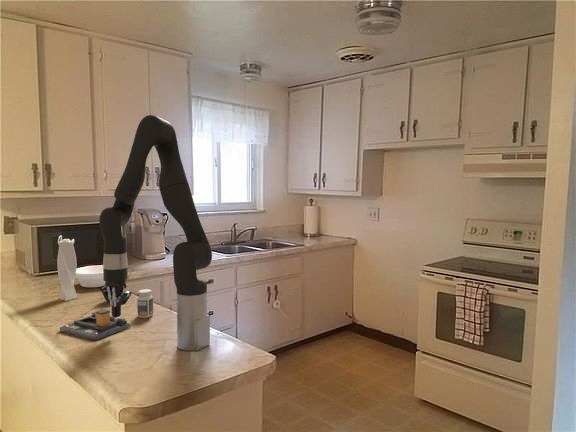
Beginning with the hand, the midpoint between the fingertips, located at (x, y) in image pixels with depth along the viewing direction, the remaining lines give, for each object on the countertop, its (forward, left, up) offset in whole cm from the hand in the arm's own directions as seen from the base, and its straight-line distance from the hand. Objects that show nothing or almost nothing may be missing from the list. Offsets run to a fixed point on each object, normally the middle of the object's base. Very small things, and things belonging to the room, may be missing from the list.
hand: (116, 316), depth 136 cm
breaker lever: (+6, 0, -5) cm, 8 cm away
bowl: (+64, -42, -6) cm, 77 cm away
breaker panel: (+10, 0, -6) cm, 12 cm away
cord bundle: (+10, -5, -5) cm, 12 cm away
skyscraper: (+54, -20, -6) cm, 58 cm away
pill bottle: (+6, -19, -6) cm, 20 cm away
